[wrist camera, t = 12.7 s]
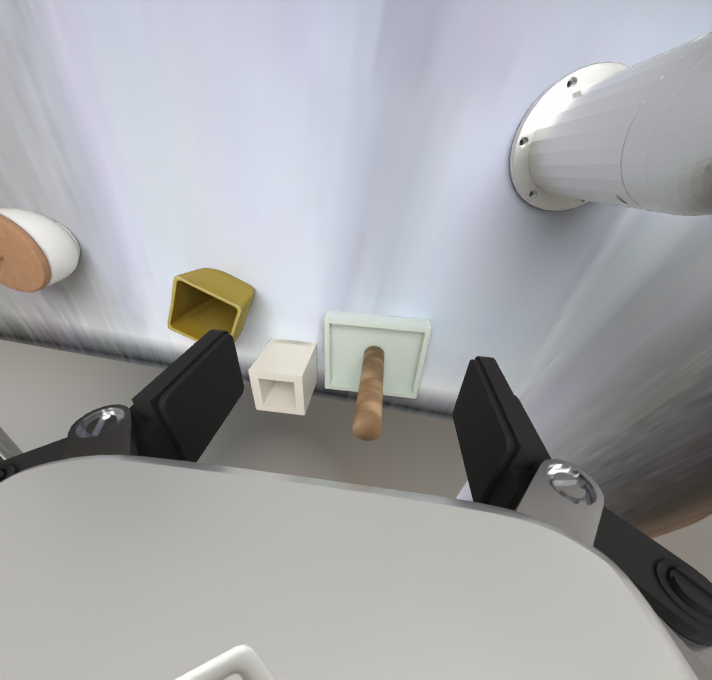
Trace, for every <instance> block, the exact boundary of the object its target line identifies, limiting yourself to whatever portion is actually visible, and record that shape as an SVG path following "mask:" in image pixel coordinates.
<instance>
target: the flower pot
mask: <svg viewBox="0 0 712 680" xmlns="http://www.w3.org/2000/svg"><path fill="white" fill-rule="evenodd" d="M253 296H254V289H253V287H252V286H251V285H249V284H247V283H245V282H243V281H241V280H239V279H237V278H235V277H233V276H231V275H229V274H227V273H225V272H222V271H219V270H216V269H210V268H203V269H198V270H194V271H191V272H188V273H184V274H181V275H178V276H175V277H174V280H173V290H172V299H171V307H170V312H169V318H168V328H169V329H171V330H173V331H175V332H177V333H179V334H182V335H184V336H186V337H188V338H191V339H193V340H195V341H198V340H199V339H200V338H202V337H203V336H204V335H205V334H206V333H207V332H208V331H209V330H211V329H216V330H225V331H228V333H229V335H232V336H233V339H234V343H235V341H236V340H237V338H238V337H239V335H240V333H241V331H242V329H243V326H244V323H245V320H246V317H247V314H248V311H249V308H250V305H251V302H252V299H253Z"/></svg>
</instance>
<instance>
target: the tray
mask: <svg viewBox="0 0 712 680" xmlns="http://www.w3.org/2000/svg"><path fill="white" fill-rule="evenodd" d="M431 330H432V327H431V323H430V320H428V319H417V318H407V317H396V316H385V315H375V314H364V313H354V312H343V311H332V310H328V311H327V313H326V315H325V317H324V350H325V388H327V389H336V390H344V391H353V392H358V390H359V384H360V377H361V371H362V364H363V358H364V352H365V350H366V349H367V348H368V347H370V346H378V347H380V348H381V349H382V350H383V351H384V376H383V395H388V396H397V397H406V398H414V399H416V397H417V393H418V388H419V384H420V379H421V375H422V370H423V366H424V362H425V357H426V353H427V348H428V344H429V339H430V335H431Z"/></svg>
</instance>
